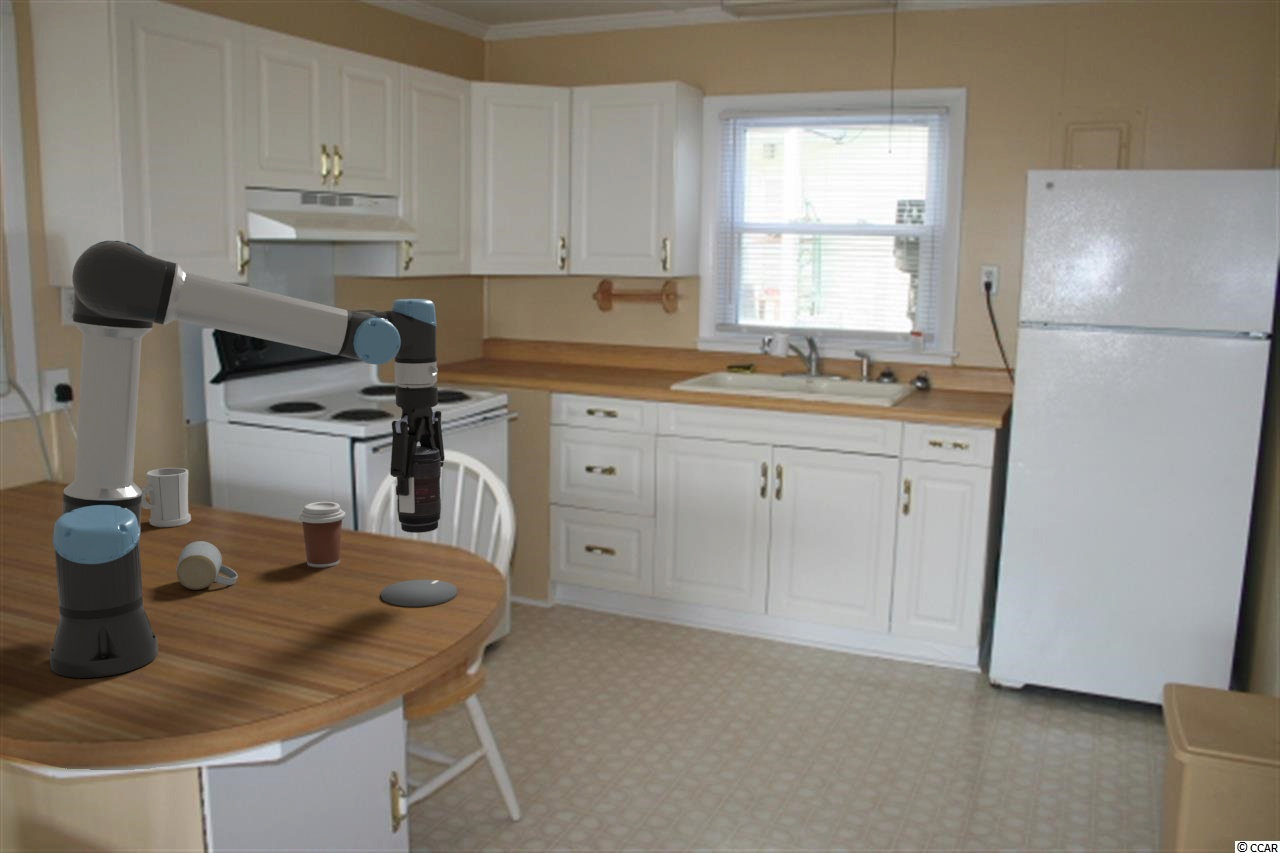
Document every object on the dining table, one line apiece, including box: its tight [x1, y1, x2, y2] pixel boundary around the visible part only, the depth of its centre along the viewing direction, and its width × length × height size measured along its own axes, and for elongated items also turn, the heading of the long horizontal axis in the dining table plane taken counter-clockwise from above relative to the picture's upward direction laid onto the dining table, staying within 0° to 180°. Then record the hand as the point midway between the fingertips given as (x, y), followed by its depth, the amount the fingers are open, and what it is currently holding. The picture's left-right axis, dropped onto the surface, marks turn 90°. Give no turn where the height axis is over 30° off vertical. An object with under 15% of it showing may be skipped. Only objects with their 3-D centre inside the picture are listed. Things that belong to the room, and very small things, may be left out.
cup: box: [139, 467, 192, 528], centre depth 248 cm, size 10×9×12 cm
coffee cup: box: [298, 501, 346, 568], centre depth 221 cm, size 9×9×12 cm
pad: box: [380, 579, 458, 608], centre depth 204 cm, size 14×14×1 cm
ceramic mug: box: [175, 540, 239, 591], centre depth 206 cm, size 11×8×8 cm
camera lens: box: [395, 445, 442, 534], centre depth 200 cm, size 8×8×15 cm
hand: (419, 506), depth 201 cm, fingers closed on camera lens, 8 cm apart
